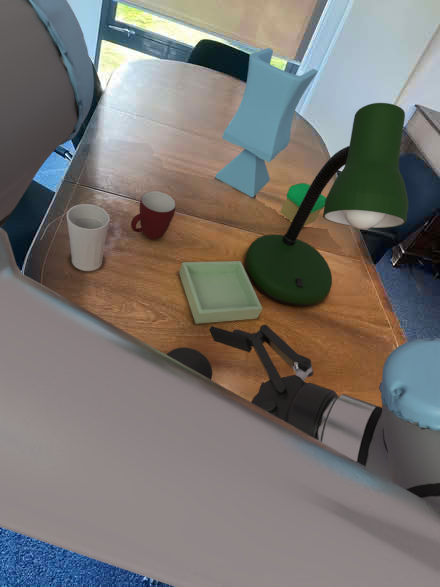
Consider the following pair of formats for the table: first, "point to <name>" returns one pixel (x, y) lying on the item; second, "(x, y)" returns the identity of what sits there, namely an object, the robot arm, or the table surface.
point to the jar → (192, 360)
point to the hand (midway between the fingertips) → (187, 367)
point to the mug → (154, 214)
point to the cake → (295, 200)
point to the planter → (262, 122)
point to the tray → (219, 291)
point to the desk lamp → (337, 208)
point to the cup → (87, 235)
